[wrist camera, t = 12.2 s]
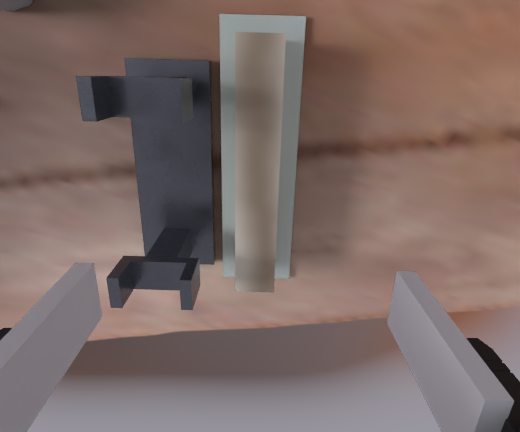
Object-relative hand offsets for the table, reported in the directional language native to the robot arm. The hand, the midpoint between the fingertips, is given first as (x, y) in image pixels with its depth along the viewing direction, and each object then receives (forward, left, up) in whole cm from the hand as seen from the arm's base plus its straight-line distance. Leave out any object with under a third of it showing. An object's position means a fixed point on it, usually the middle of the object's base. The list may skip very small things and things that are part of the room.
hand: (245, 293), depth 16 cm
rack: (-9, -1, -25) cm, 26 cm away
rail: (0, 0, -24) cm, 24 cm away
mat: (0, 0, -25) cm, 25 cm away
